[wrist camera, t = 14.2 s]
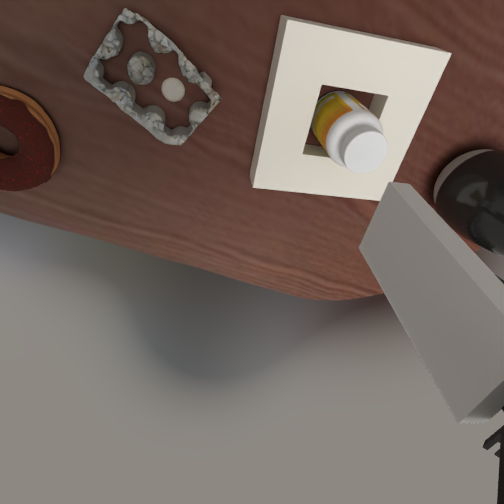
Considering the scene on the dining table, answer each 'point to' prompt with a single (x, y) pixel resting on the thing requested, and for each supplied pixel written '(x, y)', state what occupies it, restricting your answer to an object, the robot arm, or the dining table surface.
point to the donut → (27, 142)
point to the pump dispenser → (474, 198)
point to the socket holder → (344, 76)
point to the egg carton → (143, 73)
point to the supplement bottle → (349, 132)
